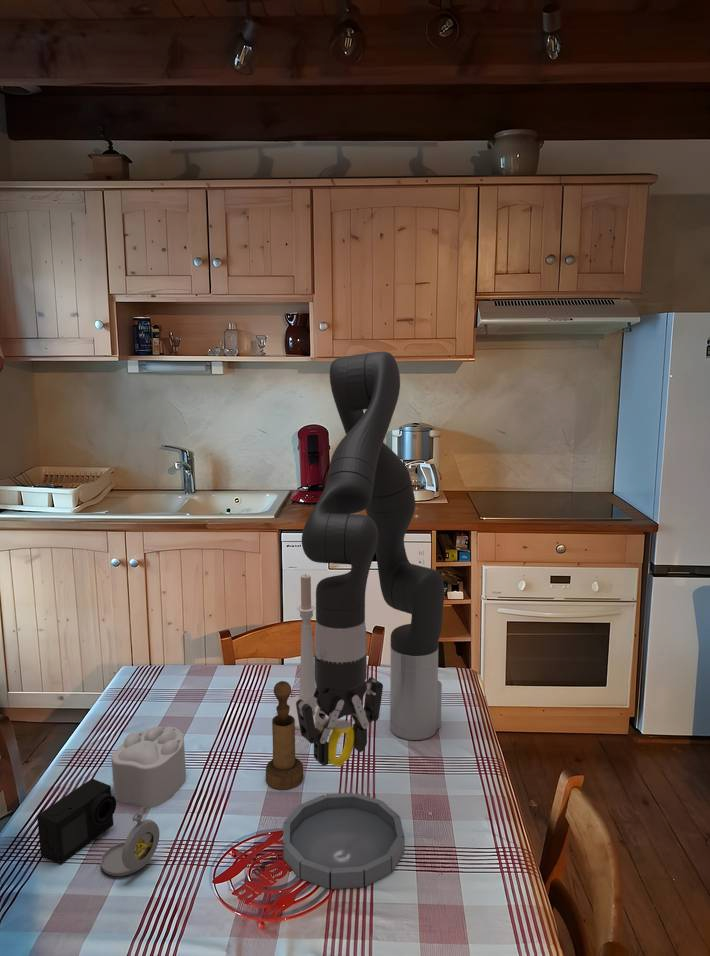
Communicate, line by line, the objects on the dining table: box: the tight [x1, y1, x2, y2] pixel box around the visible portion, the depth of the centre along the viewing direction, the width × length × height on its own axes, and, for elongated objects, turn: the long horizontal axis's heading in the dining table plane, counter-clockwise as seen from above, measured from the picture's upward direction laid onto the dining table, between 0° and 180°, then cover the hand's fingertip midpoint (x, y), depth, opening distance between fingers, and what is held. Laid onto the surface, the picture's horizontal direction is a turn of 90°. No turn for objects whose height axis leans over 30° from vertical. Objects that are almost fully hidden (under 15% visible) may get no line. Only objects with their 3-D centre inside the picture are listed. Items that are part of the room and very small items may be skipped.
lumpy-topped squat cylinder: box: [111, 725, 187, 809], centre depth 125 cm, size 10×13×9 cm
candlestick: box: [276, 573, 329, 730], centre depth 146 cm, size 13×13×30 cm
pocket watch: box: [100, 807, 160, 877], centre depth 105 cm, size 8×8×10 cm
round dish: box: [282, 792, 405, 890], centre depth 109 cm, size 18×18×2 cm
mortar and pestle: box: [265, 680, 304, 790], centre depth 125 cm, size 7×6×18 cm
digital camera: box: [36, 778, 117, 866], centre depth 110 cm, size 10×5×7 cm, turn 152°
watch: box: [327, 719, 354, 768], centre depth 107 cm, size 6×3×6 cm, turn 152°
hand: (340, 755), depth 107 cm, fingers closed on watch, 6 cm apart
